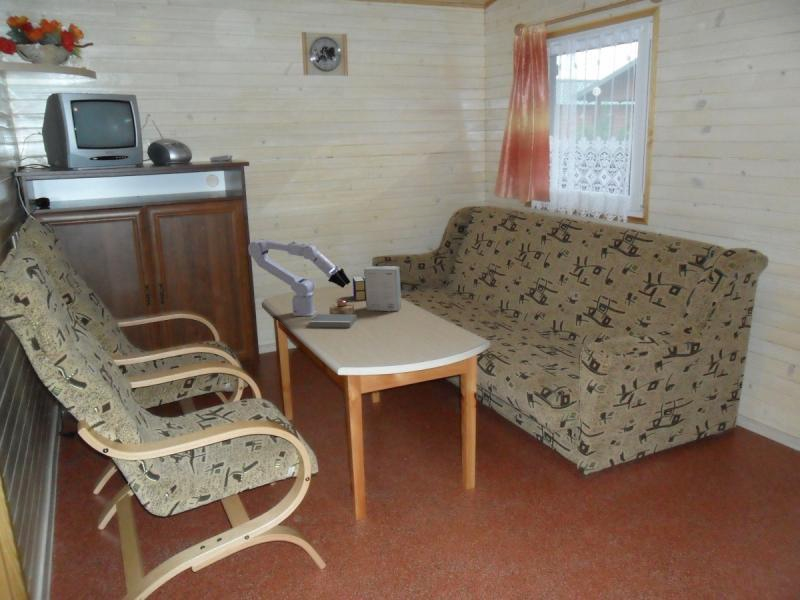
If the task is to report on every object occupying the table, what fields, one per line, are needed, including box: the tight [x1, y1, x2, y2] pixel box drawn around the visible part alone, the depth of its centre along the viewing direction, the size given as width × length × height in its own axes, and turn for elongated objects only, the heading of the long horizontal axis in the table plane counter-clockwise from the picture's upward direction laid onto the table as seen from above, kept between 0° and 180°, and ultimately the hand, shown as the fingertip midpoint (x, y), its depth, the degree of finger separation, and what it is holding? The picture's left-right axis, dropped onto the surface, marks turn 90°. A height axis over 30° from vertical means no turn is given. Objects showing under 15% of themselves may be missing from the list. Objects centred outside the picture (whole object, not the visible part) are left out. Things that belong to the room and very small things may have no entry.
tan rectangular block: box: [329, 303, 355, 315], centre depth 295 cm, size 10×6×5 cm, turn 81°
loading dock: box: [309, 313, 357, 329], centre depth 284 cm, size 18×12×3 cm, turn 81°
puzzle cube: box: [352, 275, 366, 301], centre depth 327 cm, size 10×10×10 cm
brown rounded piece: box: [336, 299, 347, 307], centre depth 295 cm, size 4×4×2 cm
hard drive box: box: [363, 265, 402, 312], centre depth 303 cm, size 16×8×20 cm, turn 74°
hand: (346, 284), depth 293 cm, fingers open, 7 cm apart
